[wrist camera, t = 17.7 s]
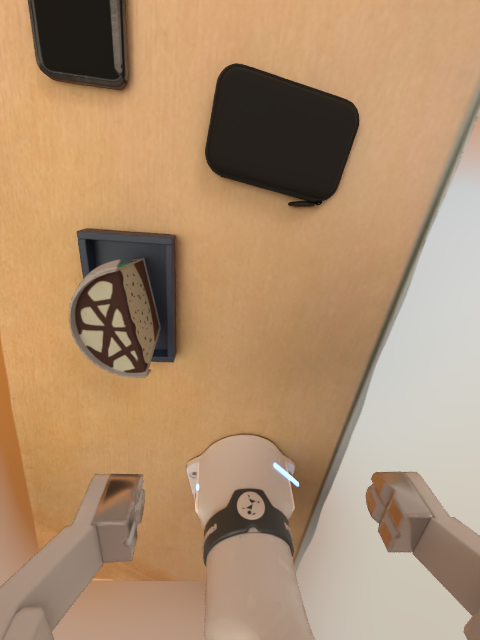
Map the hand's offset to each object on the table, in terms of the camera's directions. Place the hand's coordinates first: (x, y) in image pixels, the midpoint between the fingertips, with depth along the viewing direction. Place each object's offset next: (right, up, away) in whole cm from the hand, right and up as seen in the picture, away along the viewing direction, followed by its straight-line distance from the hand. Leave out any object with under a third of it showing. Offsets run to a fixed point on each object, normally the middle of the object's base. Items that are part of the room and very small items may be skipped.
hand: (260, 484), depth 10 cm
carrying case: (+3, +25, +21) cm, 33 cm away
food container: (-15, +9, +27) cm, 32 cm away
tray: (-14, +9, +27) cm, 32 cm away
